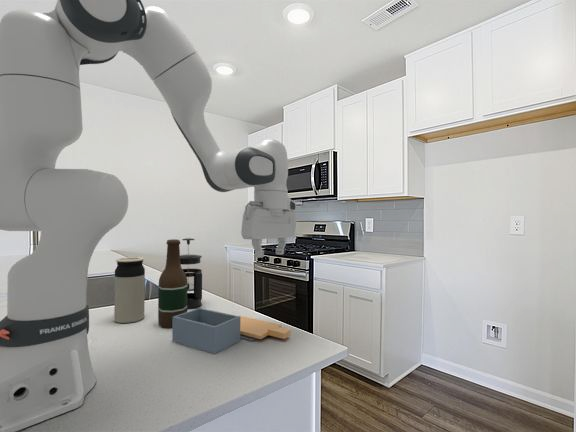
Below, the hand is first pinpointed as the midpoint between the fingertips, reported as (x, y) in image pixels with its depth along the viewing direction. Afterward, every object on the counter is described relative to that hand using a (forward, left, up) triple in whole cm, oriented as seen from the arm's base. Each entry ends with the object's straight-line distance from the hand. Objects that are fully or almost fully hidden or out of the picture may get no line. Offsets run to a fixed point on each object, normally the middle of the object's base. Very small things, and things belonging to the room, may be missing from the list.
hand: (270, 255), depth 84 cm
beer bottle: (-8, +28, -21) cm, 36 cm away
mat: (-1, +8, -21) cm, 22 cm away
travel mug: (-12, +42, -21) cm, 48 cm away
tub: (-12, +11, -21) cm, 26 cm away
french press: (+7, +38, -21) cm, 44 cm away
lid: (-1, +4, -20) cm, 21 cm away
